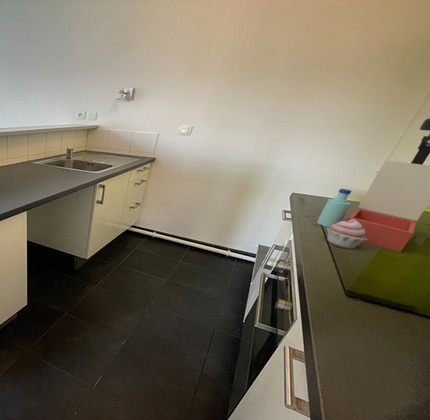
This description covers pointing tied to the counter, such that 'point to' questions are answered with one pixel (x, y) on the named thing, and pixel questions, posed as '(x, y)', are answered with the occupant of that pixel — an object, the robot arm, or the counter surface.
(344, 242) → the cupcake
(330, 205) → the bottle
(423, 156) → the robot arm
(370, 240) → the box
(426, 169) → the lid
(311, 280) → the counter surface
